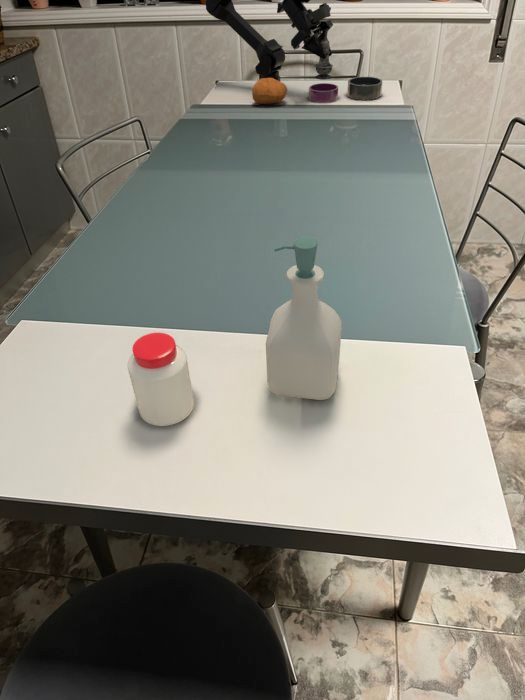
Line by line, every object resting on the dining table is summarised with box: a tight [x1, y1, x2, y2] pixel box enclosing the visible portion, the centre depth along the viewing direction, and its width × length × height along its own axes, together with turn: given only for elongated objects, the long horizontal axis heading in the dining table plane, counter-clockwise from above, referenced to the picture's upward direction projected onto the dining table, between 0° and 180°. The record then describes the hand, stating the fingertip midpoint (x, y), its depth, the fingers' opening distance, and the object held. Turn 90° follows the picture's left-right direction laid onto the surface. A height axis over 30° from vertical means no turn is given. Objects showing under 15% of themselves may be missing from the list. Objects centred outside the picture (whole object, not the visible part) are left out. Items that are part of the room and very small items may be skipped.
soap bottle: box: [265, 236, 343, 401], centre depth 73 cm, size 10×10×23 cm
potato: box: [251, 78, 288, 105], centre depth 181 cm, size 9×11×8 cm
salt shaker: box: [314, 37, 334, 81], centre depth 177 cm, size 6×6×12 cm
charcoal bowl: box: [346, 76, 383, 101], centre depth 185 cm, size 11×11×4 cm
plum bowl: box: [308, 82, 339, 104], centre depth 184 cm, size 10×10×4 cm
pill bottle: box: [127, 332, 195, 427], centre depth 74 cm, size 8×8×11 cm
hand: (328, 56), depth 176 cm, fingers closed on salt shaker, 3 cm apart
